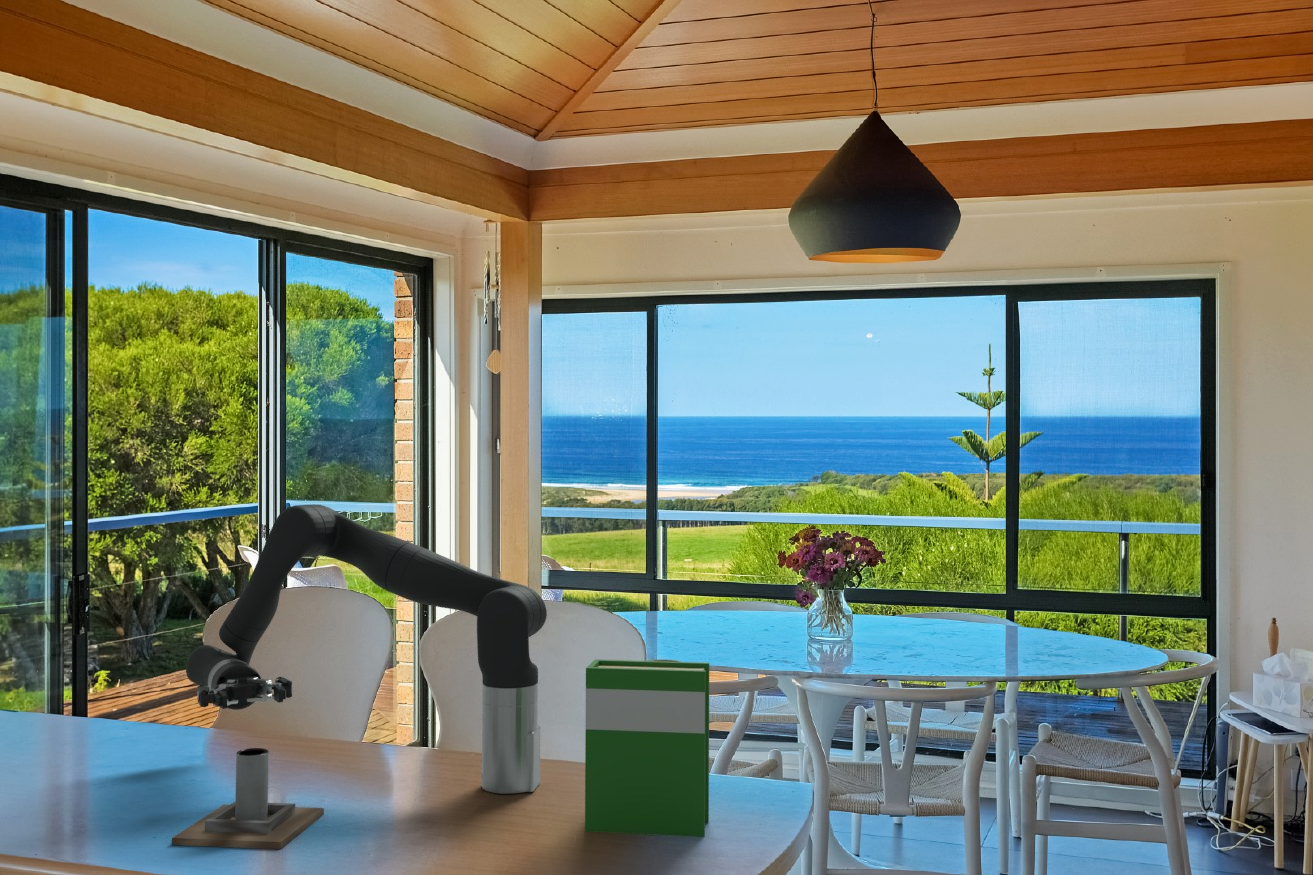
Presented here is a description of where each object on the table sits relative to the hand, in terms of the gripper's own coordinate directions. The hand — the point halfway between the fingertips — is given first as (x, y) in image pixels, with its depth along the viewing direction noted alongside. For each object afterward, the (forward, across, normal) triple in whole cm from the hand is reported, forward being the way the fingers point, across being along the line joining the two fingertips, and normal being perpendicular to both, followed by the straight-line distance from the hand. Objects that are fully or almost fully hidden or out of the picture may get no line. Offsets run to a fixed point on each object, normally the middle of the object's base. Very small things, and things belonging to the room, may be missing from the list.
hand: (253, 698), depth 187 cm
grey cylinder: (+12, -3, +16) cm, 20 cm away
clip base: (+12, -3, +17) cm, 21 cm away
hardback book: (+39, +49, +18) cm, 65 cm away
